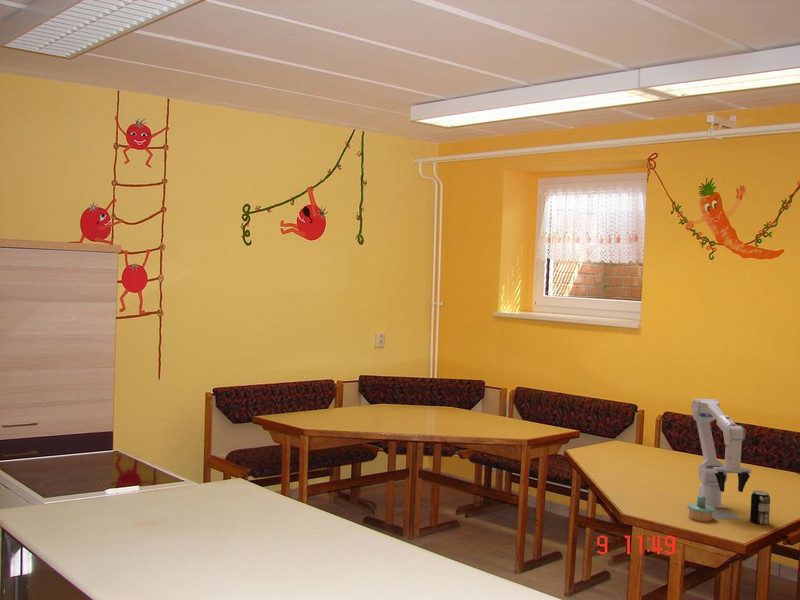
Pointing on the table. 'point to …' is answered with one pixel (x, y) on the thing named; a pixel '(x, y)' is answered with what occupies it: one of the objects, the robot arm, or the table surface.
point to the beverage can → (760, 507)
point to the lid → (701, 506)
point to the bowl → (700, 515)
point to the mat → (724, 514)
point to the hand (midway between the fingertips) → (731, 491)
